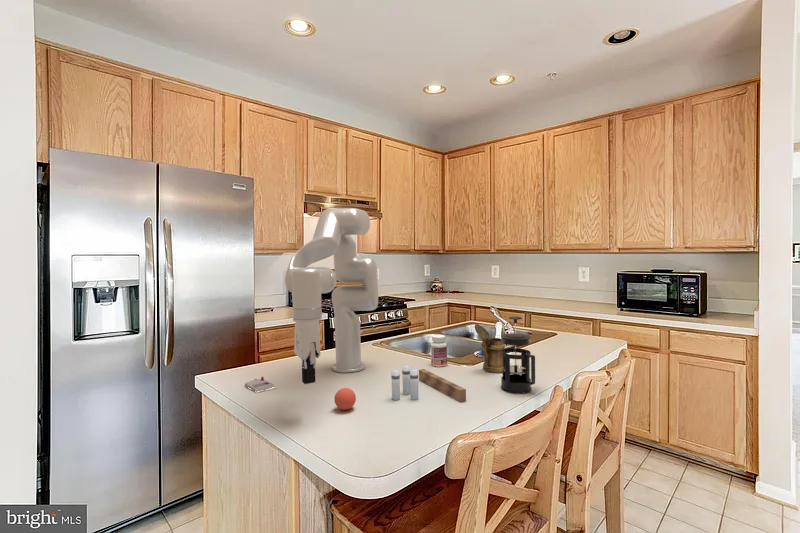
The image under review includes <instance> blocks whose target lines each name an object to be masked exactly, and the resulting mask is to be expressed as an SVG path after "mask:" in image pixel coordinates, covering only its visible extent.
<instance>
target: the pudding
mask: <svg viewBox="0 0 800 533" xmlns="http://www.w3.org/2000/svg"><path fill="white" fill-rule="evenodd" d="M477 353H479V354H478V356H477V355H476V354H477ZM473 354H474V356H477V357H479V358H481V357H483V356H484V355H483V353H482V343H480V347H479V350H478V351H475V352H474V353H473ZM479 355H482V356H479Z"/></svg>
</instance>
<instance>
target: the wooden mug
mask: <svg viewBox="0 0 800 533" xmlns="http://www.w3.org/2000/svg"><path fill="white" fill-rule="evenodd" d="M474 331H475V332H476V333H477V335H478V336H479V337H480V338H481V339H482V341H481V344H482V353H483V355H484V357H483V358H484V362H483V365H482V370H483V371H484V372H487V371H488V373H491V372H493V373H492V374H501V373H502V372H503V369H502V368H503V356H501V350H503V349H506V346H505V345H506V344H503V340H502V338H501V337H500V338H499V337H490V334H489V332H488V331H487V329H486V328H485V327H483V326H482V325H480V324H478V323H476V324H474ZM502 374H503V373H502Z"/></svg>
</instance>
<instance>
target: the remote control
mask: <svg viewBox="0 0 800 533" xmlns="http://www.w3.org/2000/svg"><path fill="white" fill-rule="evenodd" d="M245 386H247V387H249V388H251V389H252V390H254V391H256V392H257V391H261V390H266V389H269V388H272V387H276V386H275V384H274V383H272V382H271V381H268V380H266V379H265V378H264V376H261V377H260V378H258V379H257V378H254V379H253V380H250V381H246V382H245V383H244V387H245ZM247 387H246V388H247ZM252 390H251V391H252Z"/></svg>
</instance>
